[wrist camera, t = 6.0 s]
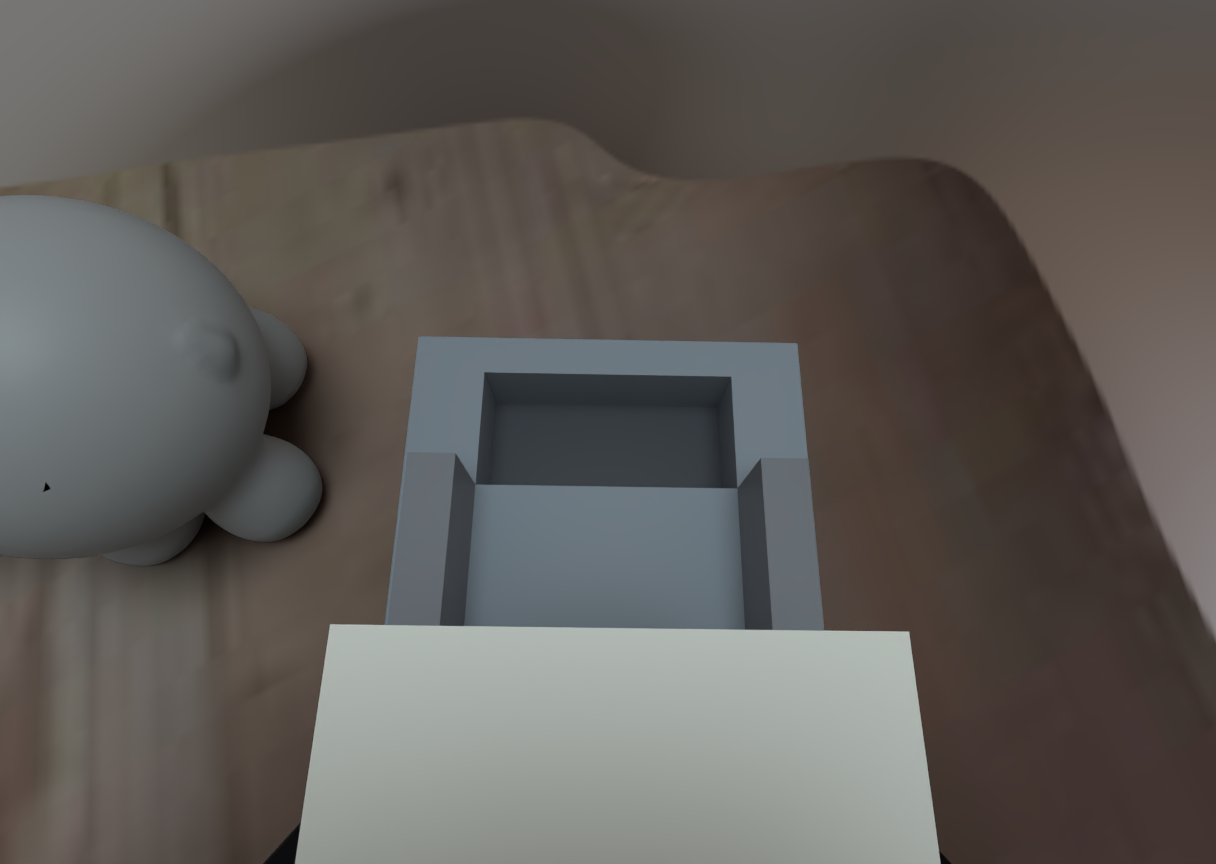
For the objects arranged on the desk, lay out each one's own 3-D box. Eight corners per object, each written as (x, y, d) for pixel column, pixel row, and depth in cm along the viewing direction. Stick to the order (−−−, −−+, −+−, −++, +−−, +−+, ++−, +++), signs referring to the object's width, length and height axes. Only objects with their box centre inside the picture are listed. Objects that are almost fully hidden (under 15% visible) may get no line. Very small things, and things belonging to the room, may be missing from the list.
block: (716, 906, 13) (1026, 1478, 4) (486, 904, 13) (204, 1484, 4) (707, 664, 15) (909, 632, 5) (501, 661, 15) (330, 623, 5)
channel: (853, 1404, 13) (998, 1815, 8) (332, 1404, 13) (181, 1821, 8) (773, 381, 20) (827, 293, 16) (439, 375, 20) (391, 285, 16)
